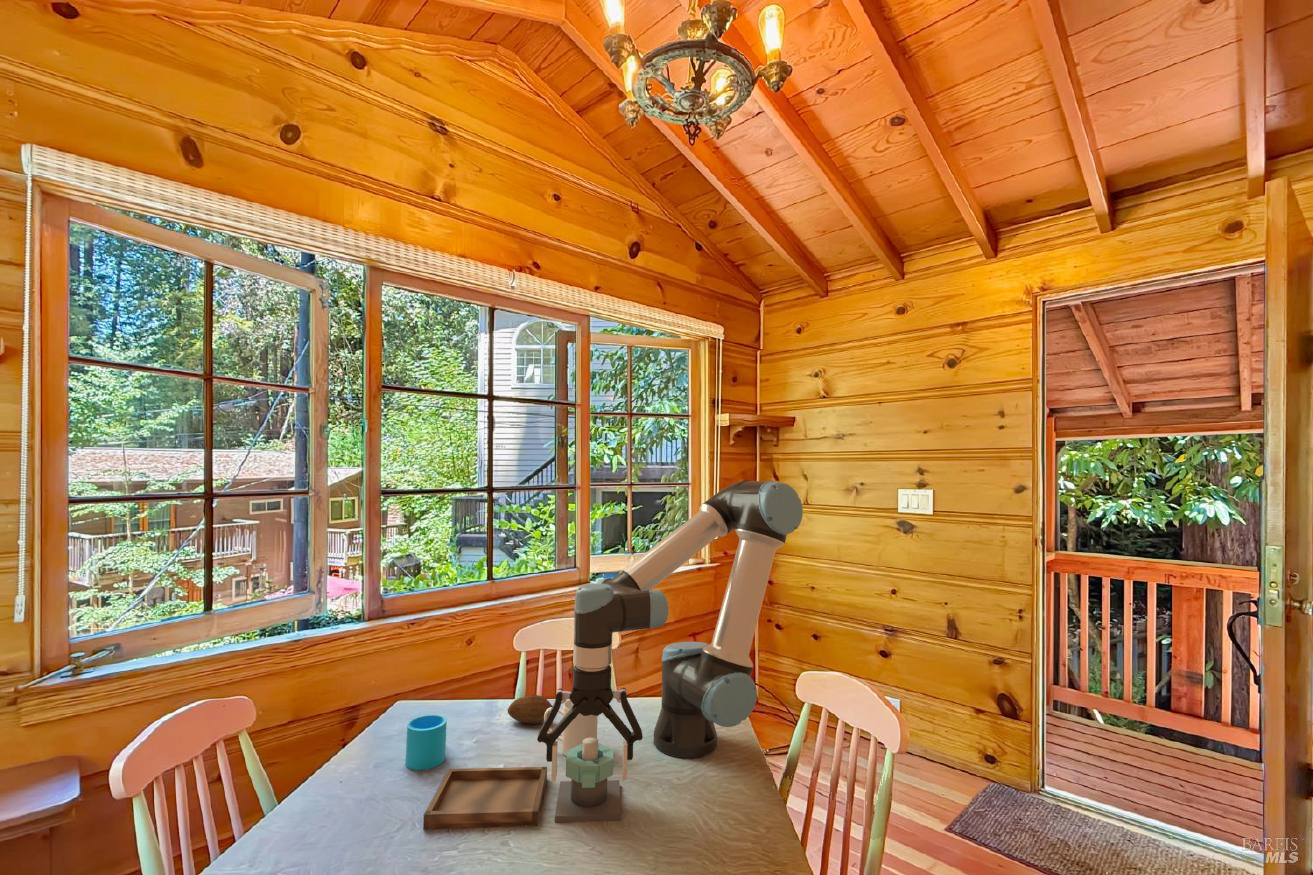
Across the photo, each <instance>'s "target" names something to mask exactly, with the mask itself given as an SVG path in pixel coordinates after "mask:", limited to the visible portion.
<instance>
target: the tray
mask: <svg viewBox="0 0 1313 875" xmlns="http://www.w3.org/2000/svg"><path fill="white" fill-rule="evenodd" d="M547 779H548V766H521V767H520V766H516V767H515V766H514V767H513V766H512V767H475V768H473V767H472V768H471V767H469V768H467V767H466V768H448V769H447V771H446V773H445V775H444V776H443V778H442V780H441V782H440V784H439V786H438V788H437V790H436V791H435V793H434V795H433V796H432V799H431V801H430V802H429V804H428V806H427V807H426V810H425V811H424V813H423V826H422V829H423V830H437V829H438V830H442V829H446V830H447V829H471V828H472V829H474V828H475V829H476V828H479V829H480V828H508V827H509V828H510V827H512V828H513V827H537V826H538V823H539V819H540V814H541V810H542V804H543V799H544V794H545V791H546V785H547Z"/></svg>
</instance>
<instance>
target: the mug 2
mask: <svg viewBox="0 0 1313 875" xmlns="http://www.w3.org/2000/svg"><path fill="white" fill-rule="evenodd" d="M572 706H573V703H572V702H571V700H570V699H567V700H566V702H565V703H563V708H562V709H561V708H560V709H559V711H558V713H559V714H560V715H562V718H563V717H564V716H565V715H566V714H567V713H568V712H569V710H570V709H571V707H572ZM551 708H552V707H550V708H548V709H547V710H546V712H545V715H544V722H545V720H546V718H547V714H548V712H550V710H551ZM598 717H599V716H594V715H588V716H583V715H582V714H580V713H579V714H578V715H577V717H576V718H575V719H573V720H572V722H571V723H570V724H569V725H568V726H567V728H566V729H565V730H564V731H563V732H562V736H561V735H560V736H559V737H558V738H557V739H556V740H558V741H561V744H562V746H561V751H562V752H561V753H562V754H563V756H566V757H567V751H568V750H569V749H572V748H574V747H576V746H578V745H580V744H583V740H584V739H586V738H596V739H597V740H598ZM544 722H543V723H544ZM552 730H553V729H551V727H550V728H549V730H548V734H549V733H551V732H552Z"/></svg>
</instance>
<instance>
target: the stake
mask: <svg viewBox="0 0 1313 875" xmlns="http://www.w3.org/2000/svg"><path fill="white" fill-rule="evenodd" d="M598 744H599V740H598V738H597V739H596V738H586V739H584V740H583V748H582V760H583V761H596V760H598ZM608 778H609V777H608ZM608 778H606V779H604V780H603V781H601V782H598V783H595V788H582V783H578V782H576V781H574V780H572V779H570V780H569V781H566V780H565V781H560V782H559V787H558V795H557V800H556V806H555V813H554V823H562V822H563V823H567V822H568V823H569V822H596V821H597V822H598V821H599V822H600V821H601V822H602V821H603V822H605V821H621V817H622V816H621V814H622V813H621V787H620V779H615V780H614V779H610V780H609V779H608Z"/></svg>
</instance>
